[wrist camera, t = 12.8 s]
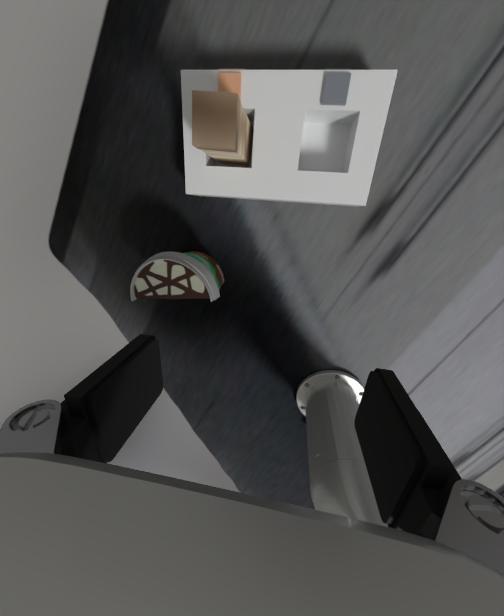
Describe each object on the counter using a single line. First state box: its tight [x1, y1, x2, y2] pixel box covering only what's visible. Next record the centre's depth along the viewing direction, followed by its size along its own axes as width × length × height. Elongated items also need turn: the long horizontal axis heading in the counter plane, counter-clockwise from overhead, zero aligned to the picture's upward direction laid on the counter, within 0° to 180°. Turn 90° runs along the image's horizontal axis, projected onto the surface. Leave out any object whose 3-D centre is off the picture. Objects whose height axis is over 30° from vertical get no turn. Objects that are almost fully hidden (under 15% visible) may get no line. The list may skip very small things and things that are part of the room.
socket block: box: [181, 69, 398, 206], centre depth 28 cm, size 12×22×5 cm, turn 87°
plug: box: [192, 90, 254, 166], centre depth 26 cm, size 4×4×10 cm
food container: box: [130, 251, 225, 302], centre depth 34 cm, size 12×6×10 cm, turn 94°
